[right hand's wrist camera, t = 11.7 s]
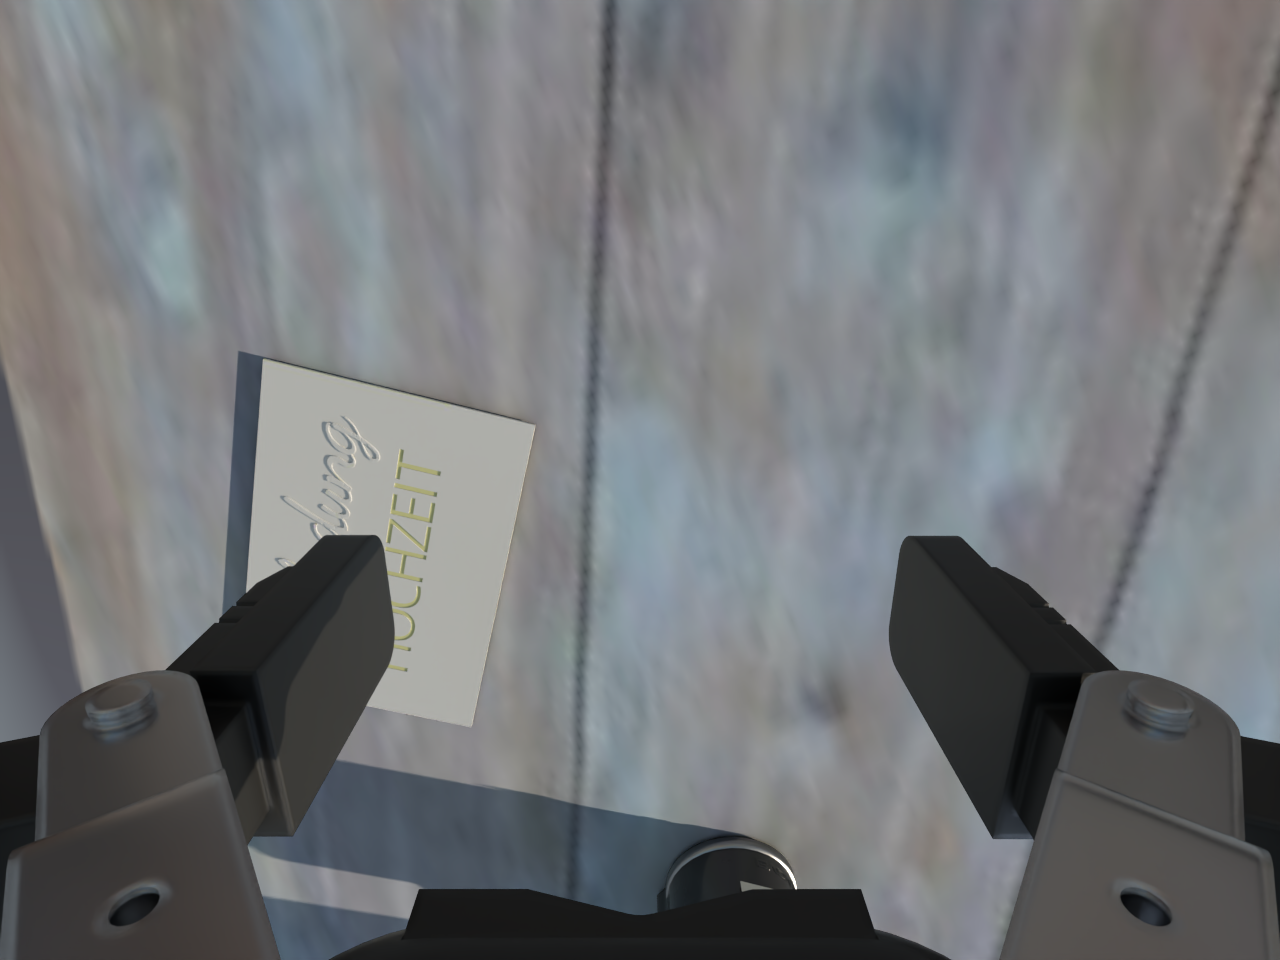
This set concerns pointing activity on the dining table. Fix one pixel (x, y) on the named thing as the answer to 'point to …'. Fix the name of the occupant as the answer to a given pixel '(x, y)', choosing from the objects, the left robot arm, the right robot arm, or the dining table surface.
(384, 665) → the right robot arm
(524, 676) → the dining table surface
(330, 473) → the invitation card
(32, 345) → the dining table surface
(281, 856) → the dining table surface
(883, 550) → the dining table surface
